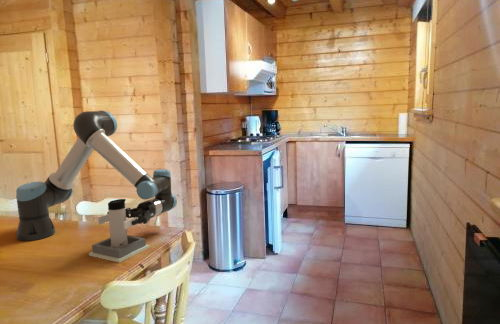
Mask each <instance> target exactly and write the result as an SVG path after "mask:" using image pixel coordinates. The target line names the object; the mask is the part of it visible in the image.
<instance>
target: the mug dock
mask: <svg viewBox="0 0 500 324" xmlns="http://www.w3.org/2000/svg"><path fill="white" fill-rule="evenodd" d="M127 238H128V245H126V246H124V247H122V248H120V249H118V248H113V247H111V238H110V237H108V238H106V239H104V240H101V241H99V242H96V243H94V244H92V245H91V248H92V250H91V252H89V253H88V256H89V257H93V258H97V257H98V259H102V260H107V261H111V262H116V263H119V264H120V263H121V262H124V261H126V260H128V259H129V258H131V257H134V256H135V255H137V254H140V253H141V252H143V251H145V250H147V249H149V248H150V244H146V243H147V242H146V238H144V237H139V236H133V235H129V234H127Z"/></svg>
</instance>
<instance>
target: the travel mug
mask: <svg viewBox="0 0 500 324" xmlns="http://www.w3.org/2000/svg"><path fill="white" fill-rule="evenodd" d="M125 204H126V198H118V199H114V200H111V201H109V202H108V203H107V209H108V210H107V212H108V213H109V221H108V224H109V235H110V237H109V238H111V247H113V248H118V249H120V248H122V247H124V246H126V245H128V238H127V235H128V228H127V229H124V223H123V222H125V221H127V217H126V210H125V209H126V205H125Z"/></svg>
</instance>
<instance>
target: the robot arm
mask: <svg viewBox="0 0 500 324" xmlns="http://www.w3.org/2000/svg"><path fill="white" fill-rule="evenodd" d="M72 126H73V130H74V133H75V135H76V136H77V137H78V138H77V139H76V141H75V143H74V144H73V146H72V147H71V149H70V150H69V152H68V153H67V154H66V156H65V158H64V159H63V161H62V162H61V164H60V165H59V166H58V168H57V170H56V171H55V172H51V173H50V174H49V175H48V177H47V178H46V180H45V181H32V182H29V183H28V182H26V183H24V184H22V185H20V186H18V187H17V188H16V191H15V192H16V193H15V194H16V196H15V199H16V204H17V212H18V219H19V222H18V224H17V225H18V226H17V230H16V232H15V233H16V234H15V235H16V239H17V240H19V241H25V242H26V241H36V240H42V239H45V238H48V237H51V236H53V235H54V234H55V233H56V227H55V225H54V222H53V221H52V218H51V217H50V211H49V208H51V207H54V206H56V205H59V204H62V203H64V202H67V201H68V200H69V199H70V198H71V197H72V196H73V192H74V190H73V187H74V181H75V179H76V178H77V176H78V175H79V173H80V172H81V170H82V168H83V167H84V166H85V164H86V163H87V161H88V160H89V159H90V157H91V155H92V154H93V152H94V151H96V152H97V153H98V154H99V155H100V156H101V157H102V158H103V159H104V160H106V162H108V163H109V165H111V166H112V167H113V168H114V169H115V170H116V171H117V172H119V174H120V175H122V177H124V178H125V179H126V180H127V181H128V182H130V184H132V186H133V187H134V188H135V189H136V191H135V192H136V194H137V196H138V197H139V198H140V199H142V200H144V201H142V202H140V203H138V204H137V206H136V207H134V208H131V207H125V210H126V221H125V222H123V223H124V229H127V230H128V229H129V228H131V227H134V226H137V225H138V224H140V225H141V224H143V225H146V224H148V223H149V221H151V219H153V218H155V217H156V216H158V215H161V214H164V213H166V212H169V211H172V209H174V208H176V206H177V203H178V199H177V198H176V196H175V194H174V193H172V176H171V171H170V169H167V168H159V169H155V170H153V174H152V176H153V177H152V176H151V175H150V174H149V173H148V172H146V170H144V169H143V168H142V167H141V166H140V165H139V164H138V163H137V162H136V161H134V160H133V159H132V157H130V156H129V155H128V154H127V153H126V152H125V151H124V150H122V148H121V147H120V146H118V145H117V144H116V142H114V141H113V140H112V139H111V138H110V136H113V135H114V134H115V133H116V131H117V128H118V123H117V119H116V117H115V116H114V114H112V113H111V112H109V111H106V110H96V111H95V110H93V111H92V110H91V111H88V110H86V111H84V112H80V113H79V114H77V115H76V116H75V118H74V120H73V125H72ZM127 218H128V219H127ZM107 222H108V223H109V213H108V211H107V213H106V214H104V215H102V216H99V217H97V225H103V224H106V223H107Z"/></svg>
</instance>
